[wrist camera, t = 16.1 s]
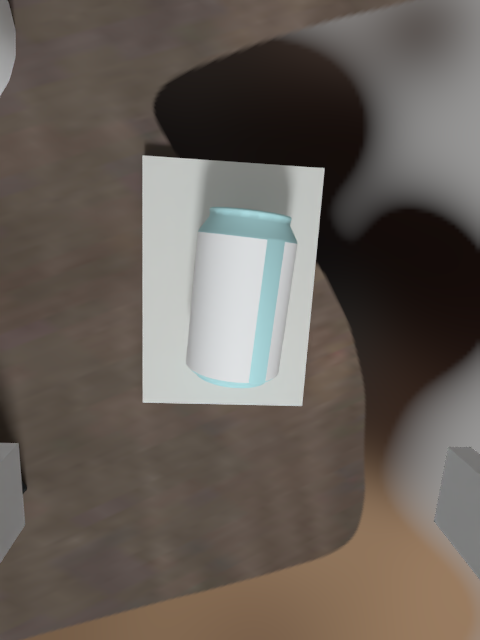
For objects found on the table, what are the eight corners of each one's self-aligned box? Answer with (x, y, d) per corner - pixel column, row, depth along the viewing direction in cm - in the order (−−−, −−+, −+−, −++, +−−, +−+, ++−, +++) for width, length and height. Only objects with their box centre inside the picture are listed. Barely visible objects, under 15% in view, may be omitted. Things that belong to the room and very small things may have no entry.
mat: (299, 401, 34) (302, 406, 33) (144, 397, 33) (142, 402, 32) (320, 170, 30) (324, 168, 29) (144, 158, 29) (142, 155, 28)
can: (172, 361, 30) (185, 205, 27) (248, 357, 33) (266, 218, 31) (207, 397, 24) (228, 202, 21) (295, 388, 27) (322, 219, 25)
